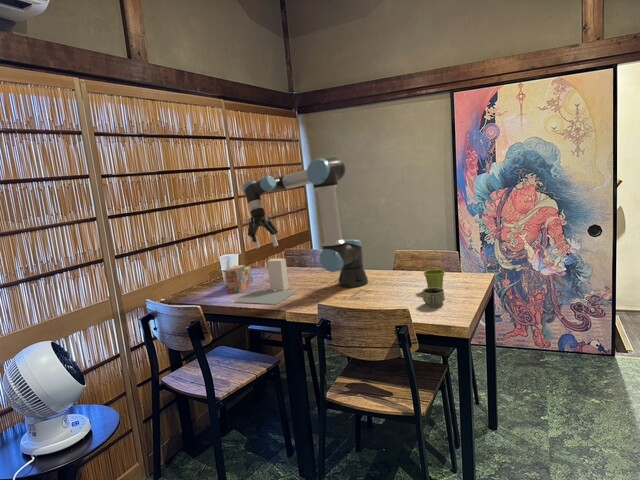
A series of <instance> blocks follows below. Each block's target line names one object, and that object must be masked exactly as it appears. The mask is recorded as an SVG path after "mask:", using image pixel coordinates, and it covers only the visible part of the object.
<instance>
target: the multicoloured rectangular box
mask: <svg viewBox="0 0 640 480" xmlns="http://www.w3.org/2000/svg"><path fill="white" fill-rule="evenodd" d="M225 276H226V277H225V278H226V279H225V280H226V284H227V291H228V292H227V293H228V294H232V293H233V294H234V293H236V294H237V293H241V292H242V291H243V290H245V289H246V288H247V287H248V286H249V285H251V284H252V283H253V282H254V280H253V279H254V278H253V273H252V266H246V265H245V264H241V265H232V267H230V268H228V269H227V270H226V271H225Z"/></svg>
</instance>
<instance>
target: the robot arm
mask: <svg viewBox="0 0 640 480" xmlns="http://www.w3.org/2000/svg"><path fill="white" fill-rule="evenodd" d="M306 168H307V169H303V170H300V171H296V172H293V173H288V174H285V175H284V174H283V175H280V176H276V177H273V176H271V175H266V176H263V177H262V178H261V179H259V180H258V181H255V180H249V181H246V182H244V184H243V192H244V195H245V198H246V202H247V204H248V209H249V212H250V218H249V219H248V227H247V229H248V230H247V236H248V237H250V238H252V239H251V240H252V242H253V245H254V248H255V250H257V249H259V248H261V246H260V245H261V244H260V241H259V238H258V234H257V231H258V228H259V227H263V228H265V229H266V231H268V233H269V234H270V238H271V242H272V245H273V247H274V248H275V247H278V246H279V243H278V238H277V234H278V233H279V231H278V229H277V228H276V227H275V224H274V223H273V222H272V220H271V218H270V217H269V216H268V217H266V212H265V209H264V205H263V201H262V198H261V197H262V196H264V195H265V194H267V193H273V192H279V191H286V190H288V189H293V188H298V187H301V186H306V185H311V184H312V185H313V189H314V190H315V191H316V192H317V198H318V199H317V200H318V205H319V210H320V211H319V212H320V217H321V226H322V231H323V238H324V241H323V243H322V244H321V247H322V248H321V249H322V251H320V254H319V263H320V264H321V267H322V268H323V269H325V270H326V271H327V272H329V273H334V272H339V271H340V272H339V277H338V286H340V287H342V288H357V287H362V286H366V285H367V284H369V278H368V276H367V274H366V270H365V268H364V262H363V261H364V260H363V257H364V256H363V246H362V240H360V239H343V235H342V227H341V220H340V214H339V207H338V205H339V204H338V198H337V192H336V189H337V187H338V185H339V182H338V181H340V180H342V179H343V178H344V176H345V174H346V165H345V163H344V162H343V160H341V159H340V158H338V157H319V158H316V159H313V160H312V161H310V163H309V164H308V166H307V167H306ZM256 234H257V235H256Z"/></svg>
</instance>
